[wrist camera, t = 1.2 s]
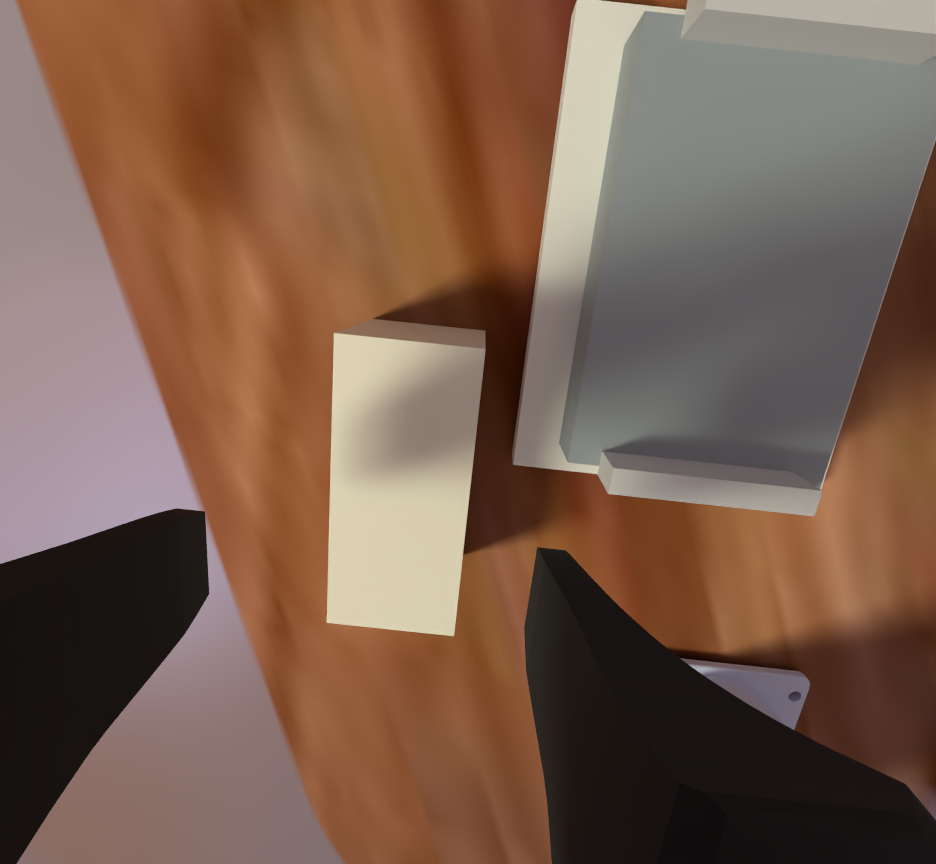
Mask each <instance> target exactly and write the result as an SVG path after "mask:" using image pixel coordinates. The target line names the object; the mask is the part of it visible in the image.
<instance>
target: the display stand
mask: <svg viewBox="0 0 936 864" xmlns="http://www.w3.org/2000/svg"><path fill="white" fill-rule="evenodd" d="M935 141H936V0H688V2H687V7H686V10H684V9H674V8H665V7H656V6H647V5H637V4H628V3H619V2H610V1H601V0H577V1H576V4H575V7H574V10H573V13H572V18H571V25H570V32H569V40H568V47H567V54H566V62H565V69H564V76H563V84H562V91H561V98H560V106H559V113H558V120H557V128H556V135H555V142H554V150H553V157H552V164H551V172H550V179H549V186H548V194H547V201H546V208H545V215H544V223H543V230H542V237H541V245H540V252H539V259H538V267H537V274H536V281H535V289H534V296H533V303H532V311H531V318H530V325H529V333H528V340H527V347H526V355H525V362H524V369H523V377H522V384H521V391H520V399H519V406H518V413H517V421H516V428H515V435H514V443H513V450H512V461H513V465H519V466H528V467H537V468H547V469H556V470H565V471H574V472H583V473H593V474H598V476H599V478H600V480H601V482H602V483H603V485H604V487H605V489H606V491H607V492H608V494H614V495H624V496H633V497H642V498H651V499H660V500H670V501H679V502H688V503H697V504H706V505H716V506H725V507H734V508H743V509H752V510H762V511H771V512H780V513H789V514H798V515H807V516H815V513H816V510H817V507H818V504H819V501H820V498H821V495H822V492H823V491H822V490H821V488H822V485H823V482H824V479H825V476H826V473H827V469H828V466H829V463H830V460H831V457H832V454H833V451H834V448H835V445H836V442H837V439H838V436H839V433H840V430H841V427H842V424H843V421H844V418H845V415H846V412H847V409H848V406H849V403H850V400H851V396H852V393H853V390H854V387H855V384H856V381H857V378H858V375H859V372H860V369H861V366H862V363H863V360H864V357H865V354H866V351H867V348H868V345H869V342H870V339H871V336H872V333H873V330H874V327H875V323H876V320H877V317H878V314H879V311H880V308H881V305H882V302H883V299H884V296H885V293H886V290H887V287H888V284H889V281H890V278H891V275H892V272H893V269H894V266H895V263H896V260H897V257H898V254H899V250H900V247H901V244H902V241H903V238H904V235H905V232H906V229H907V226H908V223H909V220H910V217H911V214H912V211H913V208H914V205H915V202H916V199H917V196H918V193H919V190H920V187H921V184H922V181H923V177H924V174H925V171H926V168H927V165H928V162H929V159H930V156H931V153H932V150H933V147H934V144H935Z"/></svg>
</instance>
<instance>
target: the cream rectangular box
mask: <svg viewBox="0 0 936 864" xmlns="http://www.w3.org/2000/svg"><path fill="white" fill-rule="evenodd" d="M485 350H486V339H485V331H484V330H474V329H465V328H455V327H446V326H436V325H427V324H417V323H408V322H398V321H389V320H380V319H371V320H368V321H365V322H363V323H360V324H357V325H354V326H352V327H349V328H346V329H344V330H341V331H338V332H336V333H334V356H333V396H332V437H331V477H330V517H329V557H328V597H327V623H335V624H344V625H354V626H363V627H373V628H382V629H392V630H401V631H410V632H420V633H429V634H439V635H448V636H454V631H455V622H456V612H457V603H458V594H459V585H460V576H461V567H462V558H463V549H464V540H465V531H466V522H467V513H468V504H469V495H470V486H471V477H472V468H473V459H474V450H475V441H476V432H477V423H478V414H479V405H480V395H481V386H482V377H483V368H484V359H485Z"/></svg>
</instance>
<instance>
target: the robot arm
mask: <svg viewBox="0 0 936 864" xmlns="http://www.w3.org/2000/svg"><path fill="white" fill-rule="evenodd" d="M208 595H209V583H208V563H207V544H206V523H205V512H204V511H195V510H184V509H173V510H168V511H164V512H161V513H157V514H154V515H150V516H147V517H143V518H140V519H137V520H134V521H131V522H128V523H126V524H122V525H119V526H117V527H114V528H111V529H108V530H105V531H102V532H99V533H96V534H93V535H90V536H87V537H85V538H82V539H78V540H75V541H73V542H70V543H67V544H63V545H60V546H57V547H54V548H50V549H47V550H44V551H41V552H38V553H35V554H31V555H29V556H25V557H22V558H19V559H16V560H12V561H9V562H5V563H2V564H0V864H16V863H17V862H18V860H19V859H20V857H21V855H22V854H23V853H24V851H25V849H26V848H27V846H28V845H29V843H30V842H31V840H32V838H33V837H34V835H35V834H36V832H37V831H38V829H39V828H40V826H41V824H42V823H43V821H44V820H45V818H46V817H47V815H48V813H49V811H50V810H51V809H52V807H53V806H54V804H55V803H56V801H57V800H58V798H59V797H60V795H61V794H62V792H63V791H64V790H65V788H66V786H67V785H68V783H69V782H70V781H71V779H72V778H73V776H74V775H75V773H76V772H77V770H78V769H79V767H80V766H81V764H82V763H83V761H84V760H85V758H86V757H87V756H88V754H89V753H90V751H91V750H92V748H93V747H94V746H95V745H96V743H97V742H98V741H99V739H100V738H101V737H102V736H103V734H104V733H105V731H106V730H107V729H108V728H109V727H110V725H111V724H112V723H113V722H114V720H115V719H116V718H117V717H118V716H119V714H120V713H121V712H122V711H123V710H124V708H125V707H126V706H127V705H128V703H129V702H130V701H131V700H132V699H133V697H134V696H135V695H136V694H137V692H138V691H139V690H140V689H141V688H142V686H143V685H144V684H145V683H146V681H147V680H148V679H149V678H150V677H151V675H152V674H153V673H154V672H155V671H156V669H157V668H158V667H159V666H160V664H161V663H162V662H163V661H164V659H165V658H166V657H167V655H168V654H169V653H170V652H171V651H172V649H173V648H174V647H175V646H176V644H177V643H178V642H179V641H180V639H181V638H182V637H183V635H184V634H185V632H186V631H187V629H188V628H189V626H190V625H191V623H192V622H193V620H194V618H195V617H196V615H197V613H198V612H199V610H200V608H201V607H202V605H203V603H204V601H205V600H206V598H207V596H208ZM524 629H525V655H526V672H527V678H528V685H529V691H530V697H531V703H532V709H533V715H534V721H535V726H536V732H537V738H538V744H539V750H540V756H541V762H542V767H543V773H544V780H545V788H546V796H547V804H548V817H549V830H550V844H551V857H552V864H936V820H935V819H934V818H933V816H932V815H931V814H930V813H929V812H928V810H927V809H926V808H925V807H924V806H923V804H922V803H921V802H920V801H919V800H918V798H917V797H916V796H915V795H914V794H913V792H912V791H911V790H910V789H909V788H908V786H907V785H906V784H904V783H902V782H900V781H898V780H896V779H893V778H891V777H889V776H887V775H885V774H883V773H881V772H879V771H876V770H874V769H872V768H870V767H868V766H866V765H864V764H862V763H859V762H857V761H855V760H853V759H851V758H849V757H847V756H845V755H842V754H840V753H838V752H836V751H834V750H832V749H830V748H827V747H825V746H823V745H821V744H819V743H817V742H815V741H814V740H812V739H810V738H808V737H806V736H804V735H802V734H801V733H799V732H797V731H795V730H794V729H795V726H796V724H797V721H798V718H799V715H800V713H801V710H802V707H803V704H804V702H805V699H806V696H807V694H808V691H809V688H810V682H809V680H808V679H807V677H806V676H805V675H804V674H803V673H802V672H799V671H793V670H783V669H774V668H765V667H756V666H747V665H737V664H728V663H719V662H710V661H701V660H691V659H682V658H679V657H678V656H677V655H675V654H674V653H673V652H671V651H670V650H669V649H667V648H666V647H665V646H663V645H662V644H661V643H660V642H659V641H657V640H656V639H655V638H654V637H653V636H651V635H650V634H649V633H648V632H647V631H646V630H645V629H643V628H642V627H641V626H640V625H639V624H638V623H637V622H636V621H634V620H633V619H632V618H631V617H630V616H629V615H628V614H627V613H626V612H625V611H624V610H623V609H622V608H620V607H619V606H618V605H617V604H616V603H615V602H614V601H613V600H612V599H611V598H610V597H609V596H608V595H607V594H606V593H605V592H604V591H603V590H602V588H601V587H600V586H599V585H598V584H597V583H596V582H595V581H594V580H593V579H592V578H591V577H590V576H589V575H588V574H587V573H586V571H585V570H584V569H583V568H582V567H581V566H580V565H579V564H578V563H577V562H576V561H575V560H574V558H573V557H572V556H571V555H570V554H569V553H568V552H567V551H565V550H556V549H547V548H538V547H537V553H536V559H535V565H534V571H533V578H532V584H531V590H530V596H529V603H528V609H527V615H526V621H525V627H524ZM792 692H794V693H792ZM790 693H792V694H790Z"/></svg>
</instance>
